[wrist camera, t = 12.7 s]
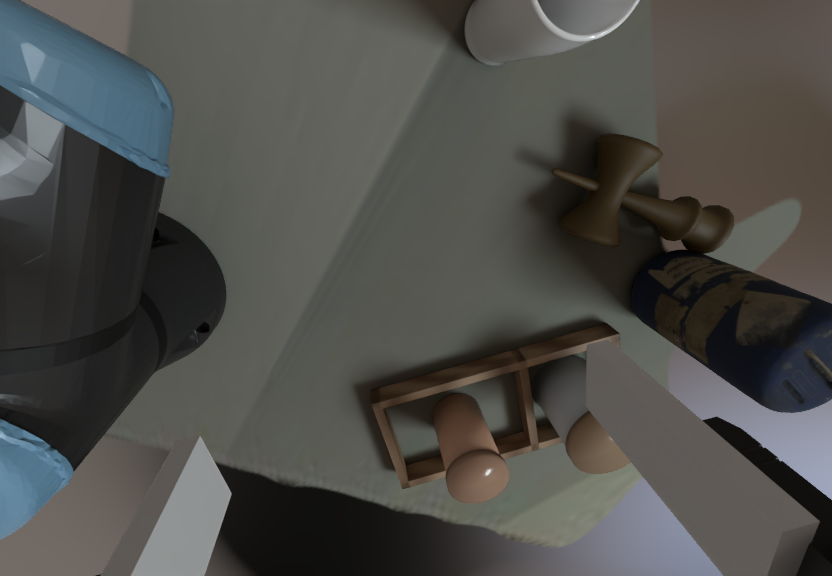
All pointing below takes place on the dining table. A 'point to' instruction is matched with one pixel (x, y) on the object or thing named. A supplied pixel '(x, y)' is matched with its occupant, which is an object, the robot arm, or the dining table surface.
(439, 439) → the tan domed cylinder
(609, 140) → the kendama
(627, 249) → the dining table surface
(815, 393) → the canister
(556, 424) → the white lidded jar
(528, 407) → the caddy
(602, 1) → the white tall cup
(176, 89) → the dining table surface
